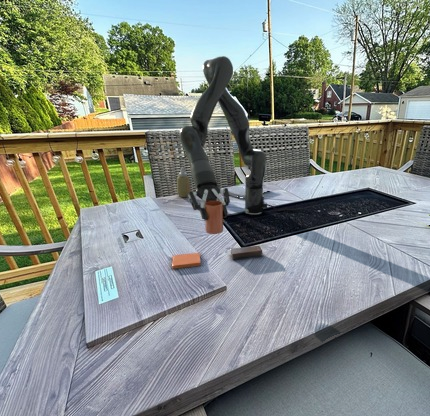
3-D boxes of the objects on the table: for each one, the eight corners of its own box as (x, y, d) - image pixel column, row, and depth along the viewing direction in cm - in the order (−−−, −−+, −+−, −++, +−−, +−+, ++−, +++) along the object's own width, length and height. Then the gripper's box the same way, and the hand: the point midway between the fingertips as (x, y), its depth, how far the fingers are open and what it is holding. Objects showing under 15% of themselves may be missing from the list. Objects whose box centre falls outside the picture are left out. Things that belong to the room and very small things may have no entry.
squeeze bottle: (193, 195, 164) (192, 166, 158) (185, 198, 157) (183, 169, 151) (182, 193, 166) (180, 165, 160) (174, 196, 159) (172, 167, 153)
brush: (259, 251, 100) (259, 245, 99) (262, 257, 97) (262, 250, 96) (230, 255, 97) (230, 248, 96) (232, 260, 93) (232, 253, 92)
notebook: (250, 185, 194) (219, 191, 174) (250, 182, 193) (219, 188, 173) (271, 191, 181) (241, 199, 161) (271, 188, 180) (241, 195, 160)
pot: (221, 226, 94) (221, 200, 90) (224, 233, 89) (224, 205, 85) (204, 227, 92) (204, 200, 89) (206, 234, 87) (205, 206, 83)
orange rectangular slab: (199, 255, 96) (199, 252, 95) (200, 265, 89) (200, 262, 89) (173, 258, 93) (173, 255, 92) (172, 268, 87) (172, 265, 86)
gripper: (184, 171, 86) (196, 216, 80) (225, 168, 93) (239, 210, 88) (181, 183, 92) (192, 226, 86) (219, 179, 99) (232, 219, 94)
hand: (216, 217), depth 87 cm, fingers closed on pot, 6 cm apart
